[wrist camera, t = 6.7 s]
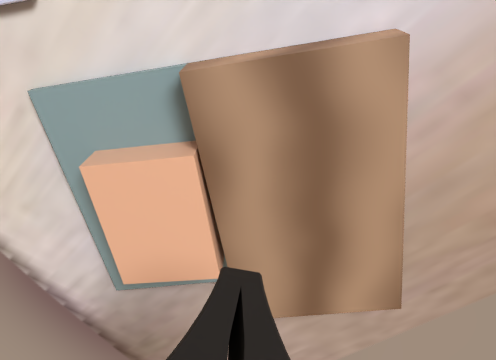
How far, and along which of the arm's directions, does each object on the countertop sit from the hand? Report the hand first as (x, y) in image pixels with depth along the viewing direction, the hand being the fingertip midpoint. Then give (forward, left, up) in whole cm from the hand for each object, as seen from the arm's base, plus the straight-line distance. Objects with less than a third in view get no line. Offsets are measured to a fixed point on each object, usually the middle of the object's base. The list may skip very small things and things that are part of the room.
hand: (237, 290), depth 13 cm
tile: (-5, -2, -9) cm, 11 cm away
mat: (-6, -1, -9) cm, 11 cm away
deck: (+3, -2, -9) cm, 10 cm away
